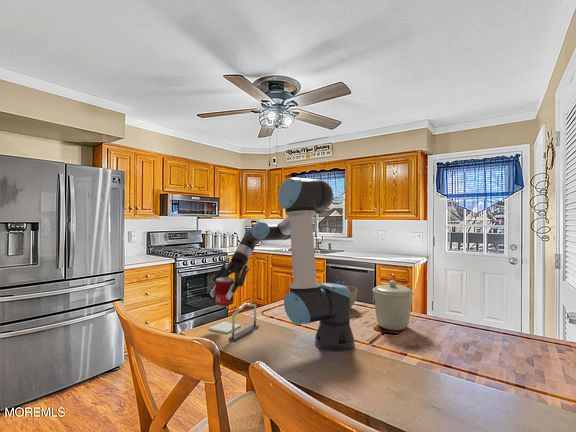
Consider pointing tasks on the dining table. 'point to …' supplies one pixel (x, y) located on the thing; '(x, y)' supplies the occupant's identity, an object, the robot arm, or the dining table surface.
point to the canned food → (223, 291)
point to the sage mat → (223, 327)
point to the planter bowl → (352, 295)
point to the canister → (393, 305)
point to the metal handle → (245, 331)
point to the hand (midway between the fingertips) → (219, 297)
